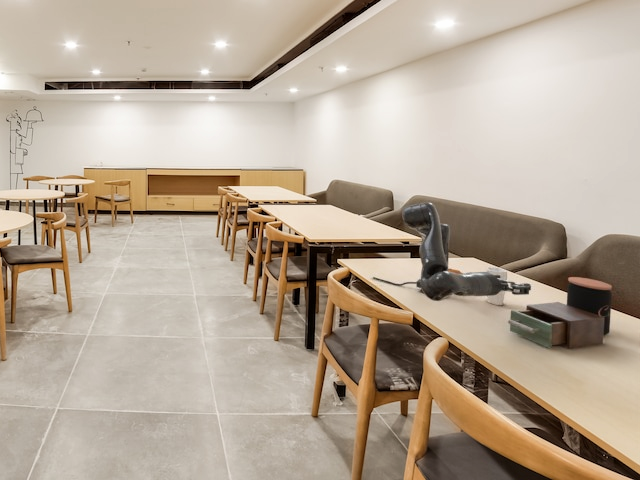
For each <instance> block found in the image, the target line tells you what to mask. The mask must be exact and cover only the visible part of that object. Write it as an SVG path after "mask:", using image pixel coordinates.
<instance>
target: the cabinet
mask: <svg viewBox="0 0 640 480" xmlns="http://www.w3.org/2000/svg"><path fill="white" fill-rule="evenodd" d="M525 307H526V308H525V310H532V309H533V310H535V311H538V312H541V313H544V314H546V315H549V316H552V317H554V318H557V319H560V320H563V321H565V322H568V327H567V343H563V344H558V345H559V346H561V347H564V348H566V349H568V350H572V349H578V348H579V349H580V348H585V347H586V348H587V347H595V346H601V345H604V336H605V335H604V317H602V316H599V315H596V314H593V313H590V312H587V311H584V310H581V309H578V308H575V307H572V306H569V305H567V303H562V302H559V301H555V302H546V303H536V304H526V306H525Z"/></svg>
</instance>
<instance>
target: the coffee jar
mask: <svg viewBox="0 0 640 480" xmlns="http://www.w3.org/2000/svg"><path fill="white" fill-rule="evenodd" d="M567 281H568V284H567V289H566V291H567V292H566V293H567V294H566V305H569V306H572V307H575V308H578V309H581V310H584V311H587V312H590V313H593V314H596V315H599V316H602V317H604V335H603V336H606V335H608V334H610V331H611V315H612V314H611V313H612V312H611V311H612V297H613V296H612V292H611V290H612V288H613V286H612V285H611V284H609V283H607V282H605V281H604V282H603V281H601V280H596V279H592V278H587V277H580V276H579V277H578V276H570V277H568V278H567Z"/></svg>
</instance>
